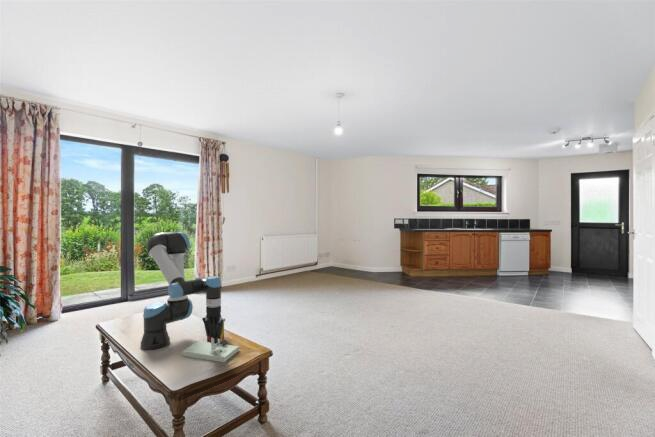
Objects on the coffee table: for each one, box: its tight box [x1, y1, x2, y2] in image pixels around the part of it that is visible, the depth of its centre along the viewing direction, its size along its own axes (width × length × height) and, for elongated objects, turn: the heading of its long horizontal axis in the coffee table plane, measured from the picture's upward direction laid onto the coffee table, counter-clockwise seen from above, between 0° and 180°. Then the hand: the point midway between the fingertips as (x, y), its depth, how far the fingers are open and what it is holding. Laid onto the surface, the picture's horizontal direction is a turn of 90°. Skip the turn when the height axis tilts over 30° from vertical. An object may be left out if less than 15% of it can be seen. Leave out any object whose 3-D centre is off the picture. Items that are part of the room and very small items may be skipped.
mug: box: [206, 320, 225, 343], centre depth 194 cm, size 10×14×12 cm
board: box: [181, 340, 240, 363], centre depth 179 cm, size 26×14×2 cm, turn 74°
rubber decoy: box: [220, 339, 227, 346], centre depth 183 cm, size 3×3×3 cm
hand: (213, 348), depth 176 cm, fingers closed
